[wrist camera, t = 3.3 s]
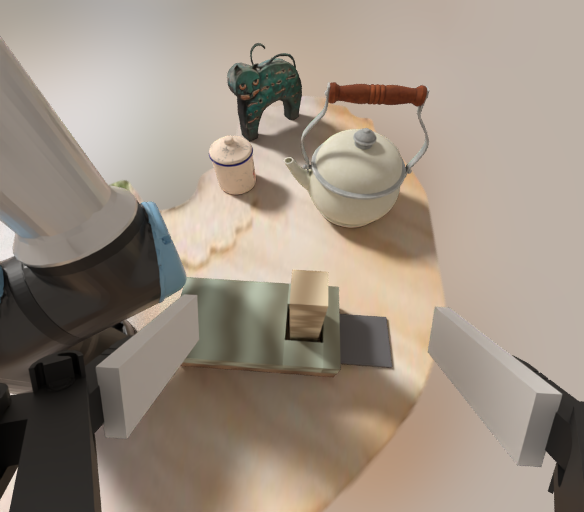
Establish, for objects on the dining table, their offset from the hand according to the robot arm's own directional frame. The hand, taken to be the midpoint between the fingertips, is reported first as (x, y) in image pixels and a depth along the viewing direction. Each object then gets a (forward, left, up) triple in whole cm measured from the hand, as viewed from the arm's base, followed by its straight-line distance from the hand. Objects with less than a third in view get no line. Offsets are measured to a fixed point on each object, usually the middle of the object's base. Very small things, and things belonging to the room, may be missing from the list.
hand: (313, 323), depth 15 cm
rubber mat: (+10, +8, -31) cm, 33 cm away
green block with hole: (-7, +8, -31) cm, 32 cm away
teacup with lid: (-18, +44, -31) cm, 56 cm away
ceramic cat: (-12, +65, -31) cm, 73 cm away
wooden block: (0, +8, -28) cm, 29 cm away
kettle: (+7, +38, -31) cm, 49 cm away
